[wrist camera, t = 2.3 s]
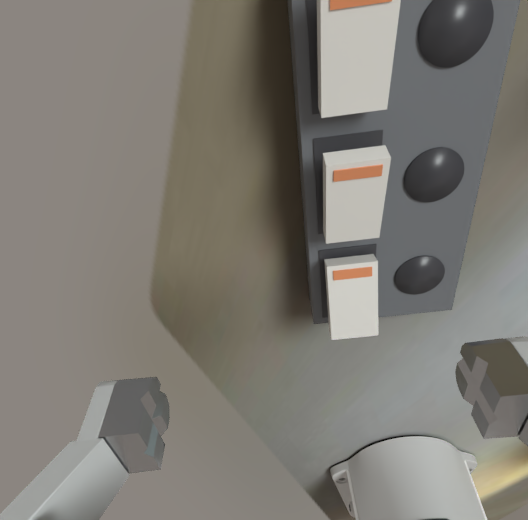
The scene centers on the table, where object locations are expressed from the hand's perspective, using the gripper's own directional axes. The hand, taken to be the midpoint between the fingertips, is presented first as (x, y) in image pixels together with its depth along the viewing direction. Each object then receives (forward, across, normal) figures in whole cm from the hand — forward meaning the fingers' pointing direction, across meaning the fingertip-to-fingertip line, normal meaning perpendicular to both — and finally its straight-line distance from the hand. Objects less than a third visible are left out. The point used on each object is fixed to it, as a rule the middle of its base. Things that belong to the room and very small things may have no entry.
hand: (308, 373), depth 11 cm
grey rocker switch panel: (+19, -7, +3) cm, 20 cm away
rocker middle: (+14, -4, +3) cm, 15 cm away
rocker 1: (+14, -4, -5) cm, 16 cm away
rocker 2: (+14, -4, +11) cm, 18 cm away
